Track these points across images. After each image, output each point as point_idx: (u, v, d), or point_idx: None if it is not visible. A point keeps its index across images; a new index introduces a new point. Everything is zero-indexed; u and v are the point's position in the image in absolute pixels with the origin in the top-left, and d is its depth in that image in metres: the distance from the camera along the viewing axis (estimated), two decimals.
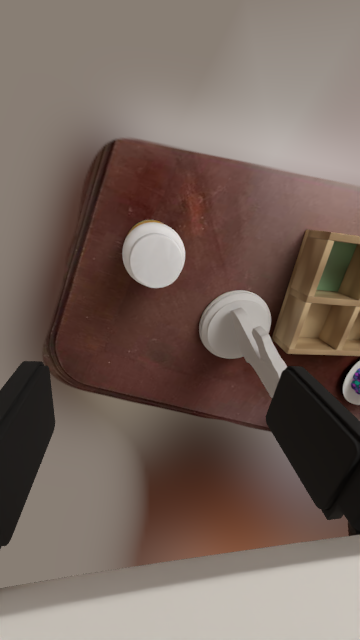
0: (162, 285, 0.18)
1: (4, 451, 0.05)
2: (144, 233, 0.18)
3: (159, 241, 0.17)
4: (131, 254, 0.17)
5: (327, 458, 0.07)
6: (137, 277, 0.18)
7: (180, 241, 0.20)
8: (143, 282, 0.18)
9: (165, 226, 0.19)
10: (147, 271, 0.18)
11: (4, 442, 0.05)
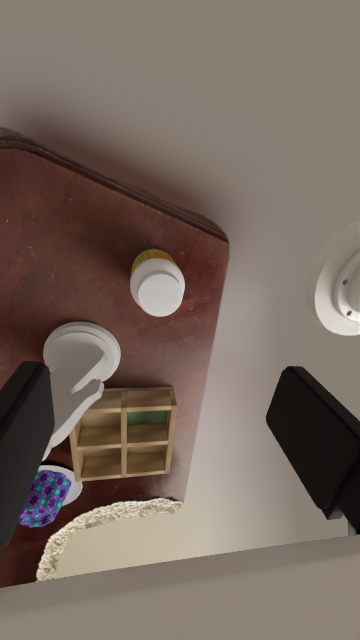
0: (140, 301, 0.20)
1: (4, 451, 0.05)
2: (177, 279, 0.22)
3: (177, 297, 0.21)
4: (166, 275, 0.20)
5: (327, 458, 0.07)
6: (146, 280, 0.20)
7: None
8: (142, 285, 0.20)
9: None
10: (152, 288, 0.20)
11: (4, 442, 0.05)
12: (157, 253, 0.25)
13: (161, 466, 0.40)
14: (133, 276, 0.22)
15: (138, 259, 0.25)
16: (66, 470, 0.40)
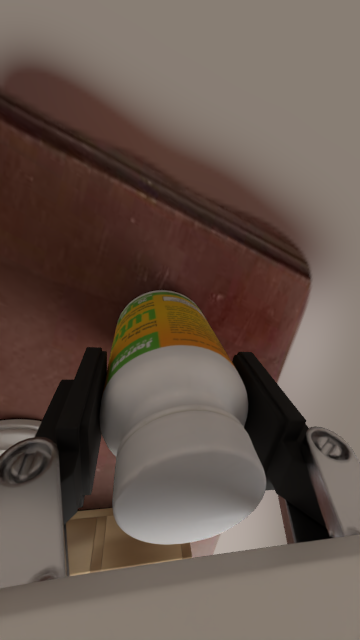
0: (123, 524, 0.06)
1: (93, 415, 0.07)
2: (236, 409, 0.08)
3: (248, 500, 0.06)
4: (224, 453, 0.05)
5: (260, 433, 0.08)
6: (148, 472, 0.05)
7: None
8: (131, 486, 0.05)
9: None
10: (166, 489, 0.06)
11: (93, 408, 0.07)
12: (174, 312, 0.10)
13: None
14: (107, 401, 0.07)
15: (128, 323, 0.11)
16: None
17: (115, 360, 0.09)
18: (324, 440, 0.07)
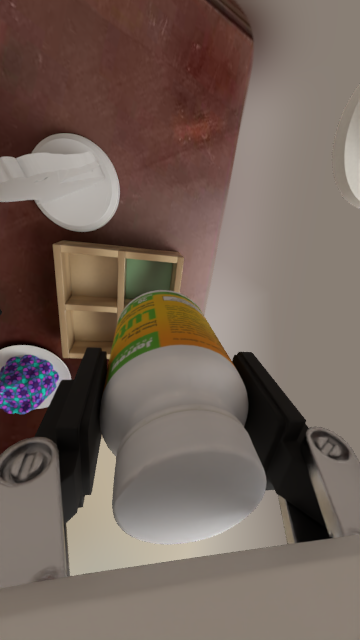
0: (123, 523, 0.06)
1: (93, 415, 0.07)
2: (236, 408, 0.08)
3: (248, 500, 0.06)
4: (224, 452, 0.05)
5: (260, 433, 0.08)
6: (148, 472, 0.05)
7: None
8: (131, 486, 0.05)
9: None
10: (166, 489, 0.06)
11: (93, 408, 0.07)
12: (174, 312, 0.10)
13: None
14: (107, 401, 0.07)
15: (128, 323, 0.11)
16: (53, 356, 0.35)
17: (115, 360, 0.09)
18: (324, 440, 0.07)
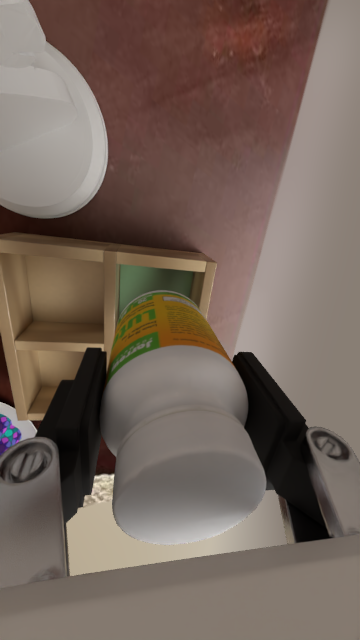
0: (123, 524, 0.06)
1: (93, 415, 0.07)
2: (236, 409, 0.08)
3: (248, 500, 0.06)
4: (224, 453, 0.05)
5: (260, 433, 0.08)
6: (147, 472, 0.05)
7: None
8: (130, 486, 0.05)
9: None
10: (166, 490, 0.06)
11: (93, 408, 0.07)
12: (174, 312, 0.10)
13: None
14: (107, 401, 0.07)
15: (128, 323, 0.11)
16: (10, 409, 0.23)
17: (115, 360, 0.09)
18: (324, 440, 0.07)
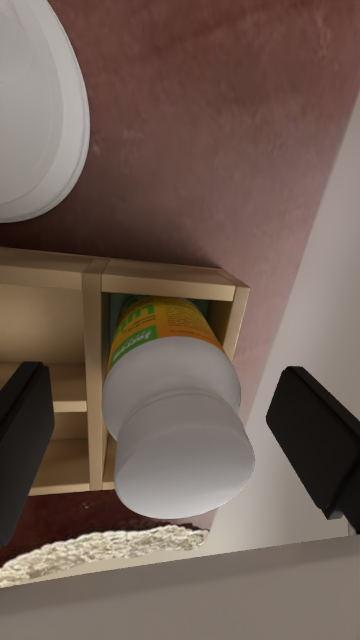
0: (124, 497, 0.06)
1: (4, 451, 0.05)
2: (229, 395, 0.08)
3: (239, 476, 0.07)
4: (214, 430, 0.06)
5: (327, 458, 0.07)
6: (146, 446, 0.06)
7: None
8: (130, 460, 0.06)
9: None
10: (163, 464, 0.06)
11: (4, 442, 0.05)
12: (172, 307, 0.11)
13: None
14: (109, 388, 0.08)
15: (128, 318, 0.11)
16: None
17: (116, 351, 0.09)
18: None
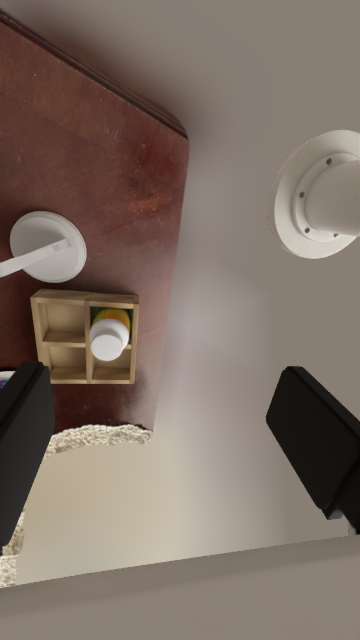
0: (93, 351, 0.30)
1: (4, 451, 0.05)
2: (122, 334, 0.32)
3: (118, 349, 0.31)
4: (110, 335, 0.30)
5: (327, 458, 0.07)
6: (96, 338, 0.30)
7: None
8: (93, 341, 0.30)
9: None
10: (100, 343, 0.30)
11: (4, 442, 0.05)
12: (112, 311, 0.35)
13: (126, 377, 0.41)
14: (90, 331, 0.32)
15: (98, 314, 0.35)
16: None
17: (93, 323, 0.33)
18: None
